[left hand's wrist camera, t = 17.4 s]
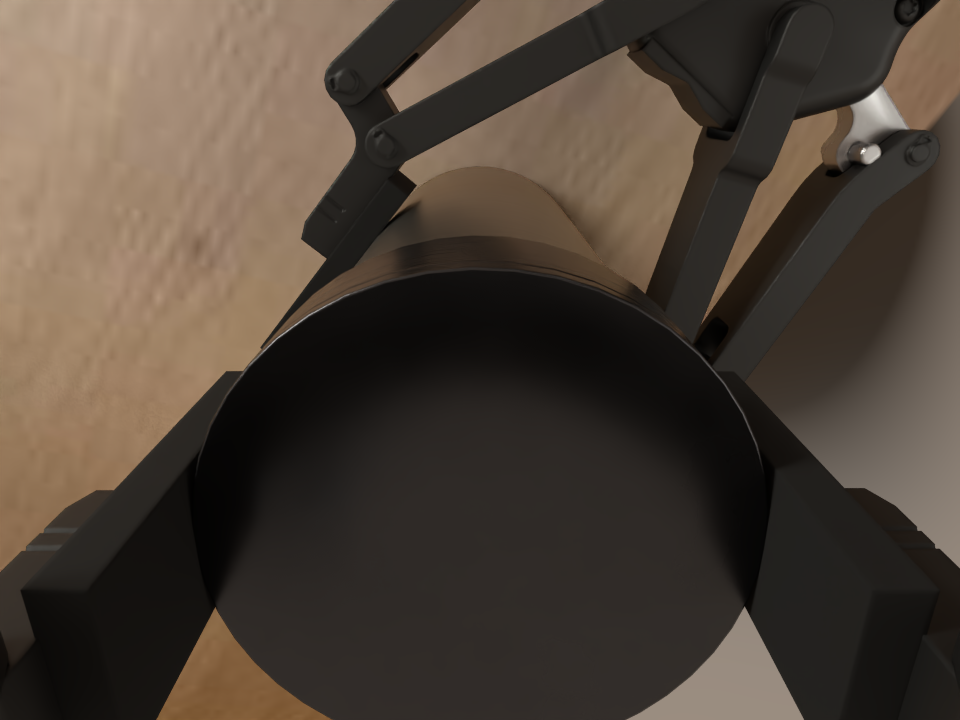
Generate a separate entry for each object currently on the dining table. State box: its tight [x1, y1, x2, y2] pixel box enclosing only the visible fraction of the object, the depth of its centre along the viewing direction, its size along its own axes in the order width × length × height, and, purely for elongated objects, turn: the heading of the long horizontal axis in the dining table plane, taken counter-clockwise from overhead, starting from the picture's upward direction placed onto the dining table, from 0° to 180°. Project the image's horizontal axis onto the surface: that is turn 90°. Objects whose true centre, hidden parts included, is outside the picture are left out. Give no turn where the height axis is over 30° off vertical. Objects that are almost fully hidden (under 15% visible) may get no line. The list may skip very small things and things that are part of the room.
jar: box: [355, 167, 605, 267], centre depth 19 cm, size 8×8×18 cm
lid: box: [192, 235, 768, 720], centre depth 11 cm, size 9×9×2 cm
